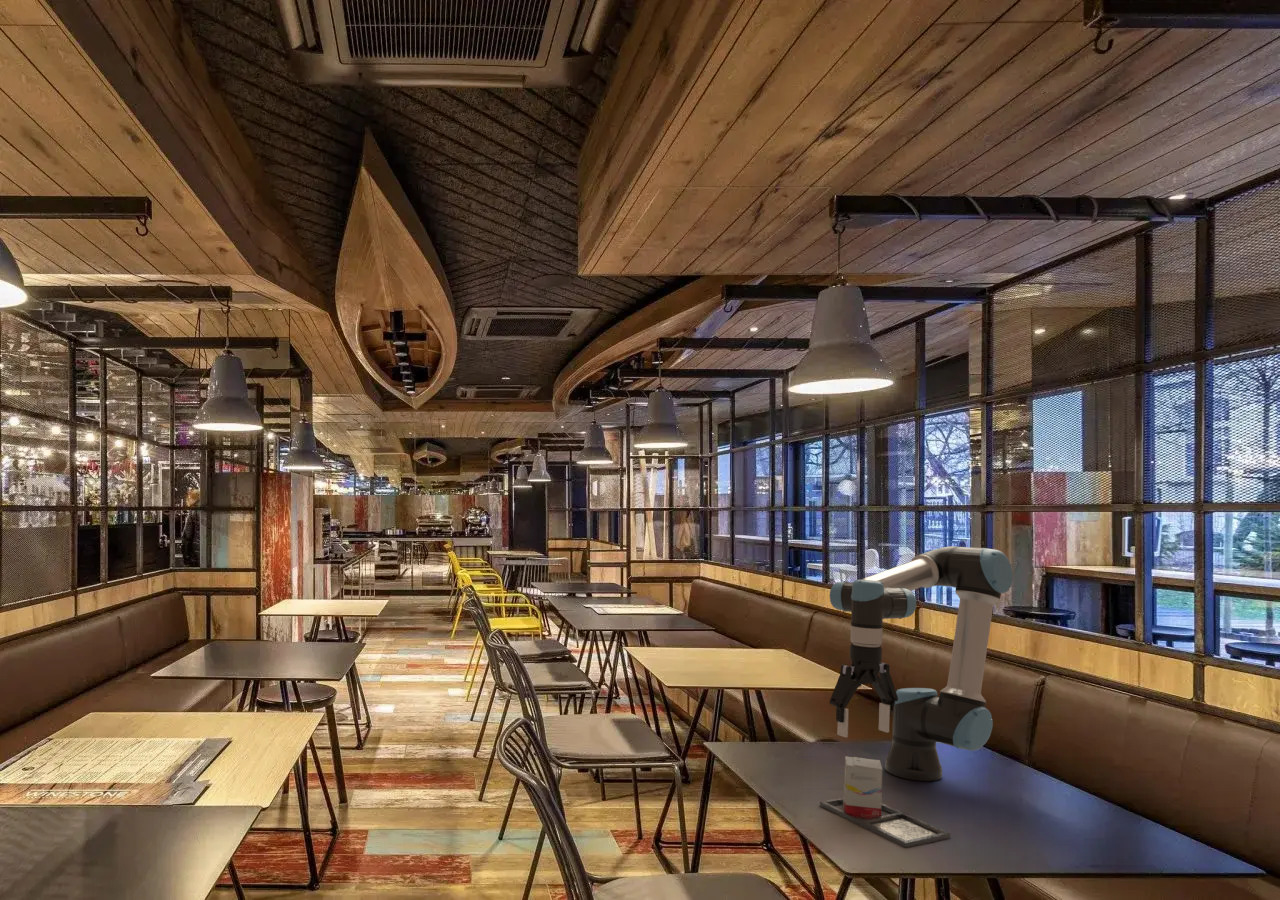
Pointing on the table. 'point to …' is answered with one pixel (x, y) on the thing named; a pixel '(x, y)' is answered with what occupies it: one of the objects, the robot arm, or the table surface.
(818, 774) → the table surface
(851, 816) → the grey flat rectangular frame
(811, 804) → the table surface
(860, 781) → the ink box
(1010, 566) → the robot arm
